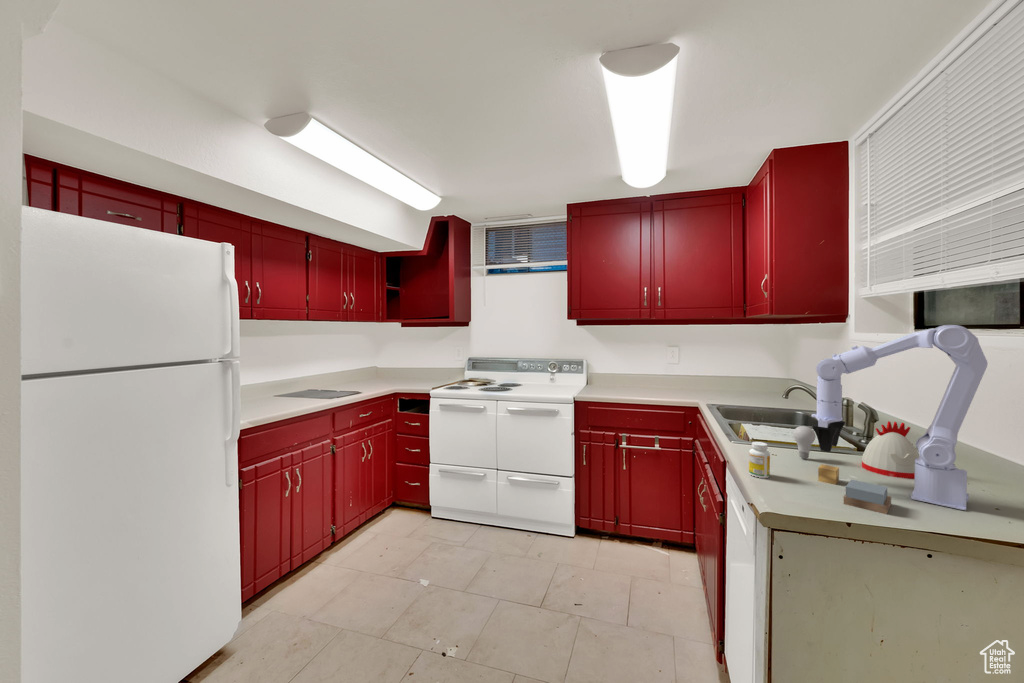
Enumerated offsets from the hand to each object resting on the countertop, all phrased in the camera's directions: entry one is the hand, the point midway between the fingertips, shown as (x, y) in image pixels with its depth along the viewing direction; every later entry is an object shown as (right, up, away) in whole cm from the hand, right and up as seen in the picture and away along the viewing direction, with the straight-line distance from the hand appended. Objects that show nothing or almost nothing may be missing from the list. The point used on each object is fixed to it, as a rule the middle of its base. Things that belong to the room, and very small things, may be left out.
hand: (828, 448), depth 118 cm
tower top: (-2, -8, -15) cm, 18 cm away
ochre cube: (0, -10, 0) cm, 10 cm away
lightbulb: (+7, -9, +20) cm, 23 cm away
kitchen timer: (+25, -9, +8) cm, 28 cm away
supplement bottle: (-17, -10, +5) cm, 20 cm away
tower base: (-2, -11, -15) cm, 19 cm away
